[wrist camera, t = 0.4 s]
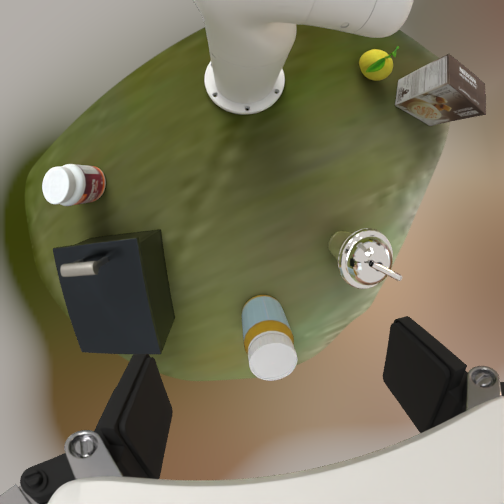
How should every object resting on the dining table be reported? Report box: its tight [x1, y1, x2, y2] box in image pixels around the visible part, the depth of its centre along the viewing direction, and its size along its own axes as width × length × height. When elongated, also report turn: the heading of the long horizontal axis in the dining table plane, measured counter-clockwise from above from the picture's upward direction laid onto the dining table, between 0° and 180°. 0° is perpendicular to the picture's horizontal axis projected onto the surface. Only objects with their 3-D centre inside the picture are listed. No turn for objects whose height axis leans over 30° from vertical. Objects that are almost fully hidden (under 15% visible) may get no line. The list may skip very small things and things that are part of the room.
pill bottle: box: [42, 164, 106, 206], centre depth 35 cm, size 6×6×11 cm
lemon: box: [359, 46, 399, 81], centre depth 34 cm, size 7×6×10 cm
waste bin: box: [75, 230, 175, 350], centre depth 40 cm, size 16×14×11 cm
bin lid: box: [53, 237, 162, 354], centre depth 31 cm, size 16×14×6 cm
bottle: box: [242, 295, 297, 381], centre depth 40 cm, size 7×7×15 cm
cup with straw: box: [328, 228, 402, 289], centre depth 36 cm, size 8×9×20 cm
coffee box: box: [395, 54, 486, 126], centre depth 33 cm, size 9×6×16 cm
